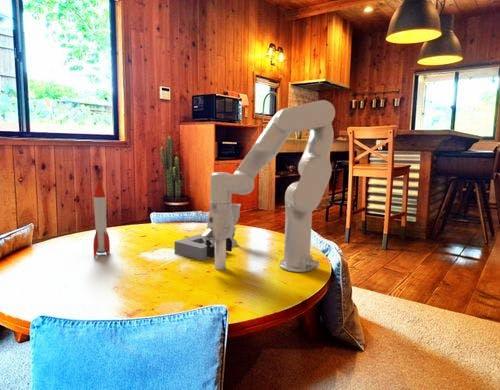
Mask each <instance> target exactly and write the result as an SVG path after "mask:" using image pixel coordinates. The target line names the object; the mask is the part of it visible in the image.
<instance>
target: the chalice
mask: <svg viewBox="0 0 500 390" xmlns="http://www.w3.org/2000/svg"><path fill="white" fill-rule="evenodd" d="M241 205H242V204H241V203H231V210H232V213H233V221H234V227H236V226H237V224H238V221H239V218H240V216H241V215H240V213H241V210H240V209H241ZM234 237H235V236H234ZM234 237H233V241H232V248H233V247H234V248H235V247H238V246H239V244H238V241H237V239H235V238H234Z"/></svg>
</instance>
